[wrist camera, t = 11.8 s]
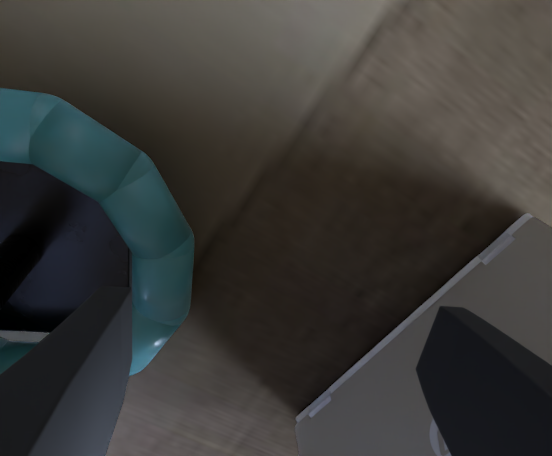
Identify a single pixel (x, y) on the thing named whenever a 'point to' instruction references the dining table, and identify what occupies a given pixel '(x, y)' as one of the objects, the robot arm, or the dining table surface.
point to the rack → (52, 249)
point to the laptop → (409, 345)
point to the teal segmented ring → (108, 209)
